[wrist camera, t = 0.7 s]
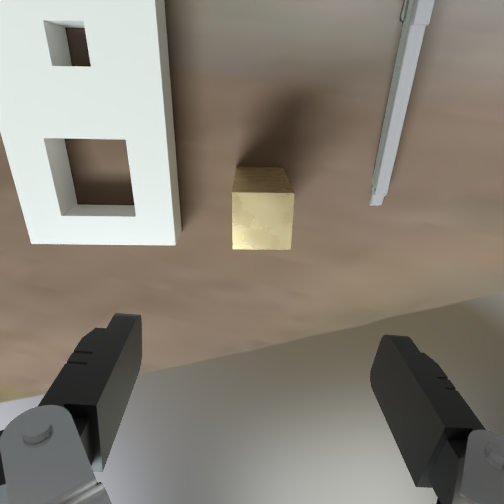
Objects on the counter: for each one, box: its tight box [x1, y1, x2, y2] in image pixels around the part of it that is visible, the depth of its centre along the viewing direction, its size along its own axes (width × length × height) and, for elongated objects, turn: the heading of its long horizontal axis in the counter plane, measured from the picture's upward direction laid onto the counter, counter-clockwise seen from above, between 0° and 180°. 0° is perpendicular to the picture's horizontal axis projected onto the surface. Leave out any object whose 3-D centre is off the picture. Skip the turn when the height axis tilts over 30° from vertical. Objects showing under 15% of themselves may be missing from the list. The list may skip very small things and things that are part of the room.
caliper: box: [369, 0, 435, 206], centre depth 24 cm, size 20×1×6 cm, turn 1°
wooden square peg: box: [232, 167, 294, 250], centre depth 27 cm, size 4×4×8 cm
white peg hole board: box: [0, 0, 182, 245], centre depth 26 cm, size 12×20×3 cm, turn 179°
